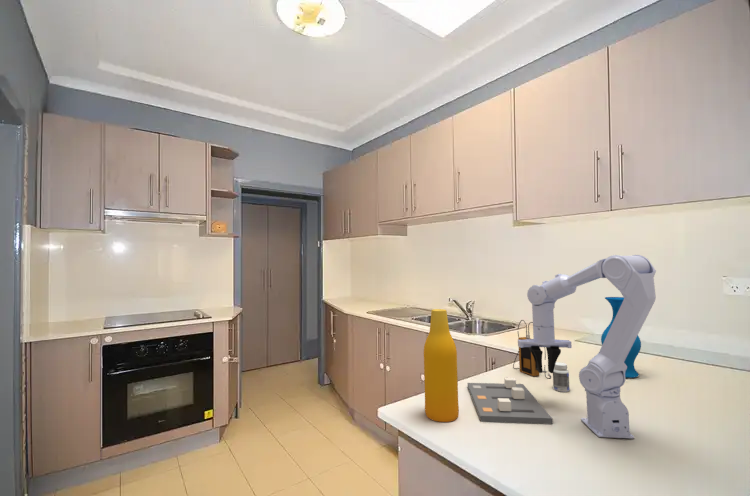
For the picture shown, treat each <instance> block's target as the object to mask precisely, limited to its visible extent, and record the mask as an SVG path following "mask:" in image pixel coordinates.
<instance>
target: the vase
mask: <svg viewBox="0 0 750 496" xmlns="http://www.w3.org/2000/svg"><path fill="white" fill-rule="evenodd" d="M604 299H605V300H606V301H607V302H608V303H609V305H610V306H611V309H612V319H611V321H610V322H609V324H608V325H607V327H606V328H605V329H604V330H603V332H602V334H601V337H600V343H601V346H602V345H603V343H604V340H605V338H606V336H607V334H608V332H609V330H610V328H611V326H612V324H613V321H614V319H615V317H616V315H617V313H618V311H619V309H620V307H621V304H622V302H623V300H624V297H623V296H606V297H605V296H604ZM641 349H642V341H641V338H640V336H639V334H638V335H637V337H636V339H635V341H634V343H633V345H632V347H631V349H630V351H629V353H628V355H627V357H626V359H625V361H624V363H625V364H626V366H627V369H626V371H625V379H627V378H629V379H632V378H633V379H634V378H637V377H639V376H640V374H639V372H638V371H637V370H636V369H635V360H636V358H637V357H638V355H639V353H640V351H641Z"/></svg>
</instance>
